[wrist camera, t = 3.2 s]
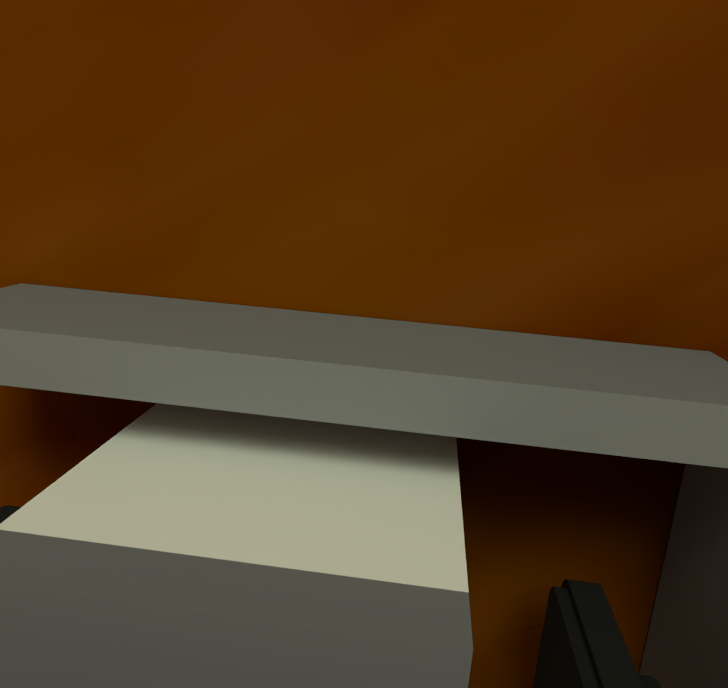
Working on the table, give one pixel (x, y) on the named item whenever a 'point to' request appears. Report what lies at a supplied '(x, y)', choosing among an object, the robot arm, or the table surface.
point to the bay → (420, 406)
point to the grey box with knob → (241, 560)
